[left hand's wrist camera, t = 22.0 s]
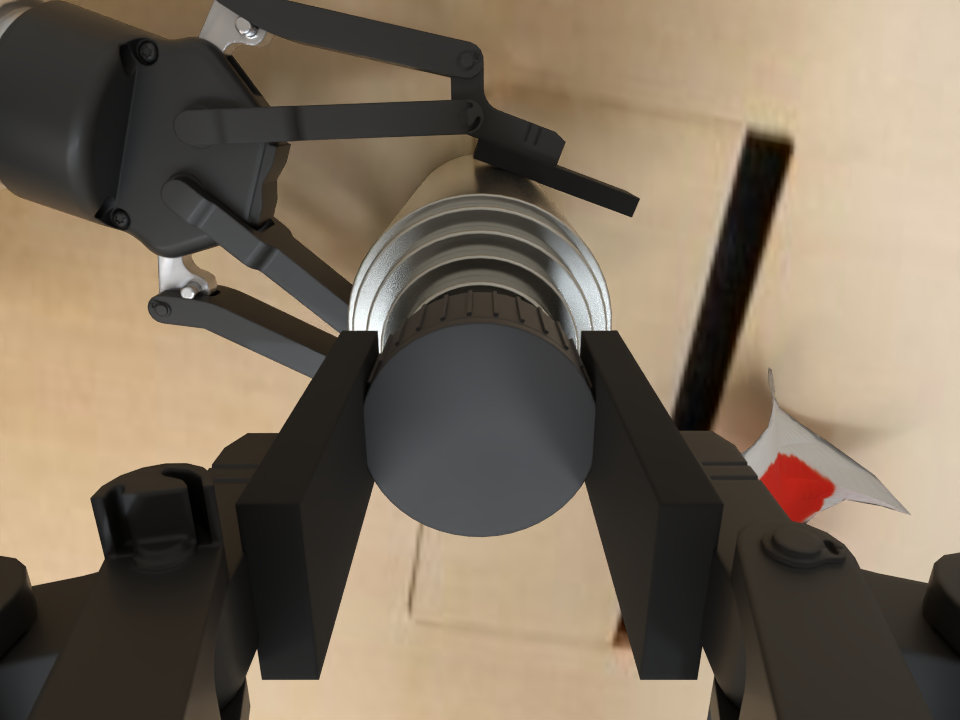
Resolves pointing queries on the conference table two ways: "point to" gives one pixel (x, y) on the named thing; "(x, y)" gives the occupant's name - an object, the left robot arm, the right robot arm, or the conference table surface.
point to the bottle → (479, 253)
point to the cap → (479, 416)
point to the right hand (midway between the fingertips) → (588, 294)
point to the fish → (810, 469)
